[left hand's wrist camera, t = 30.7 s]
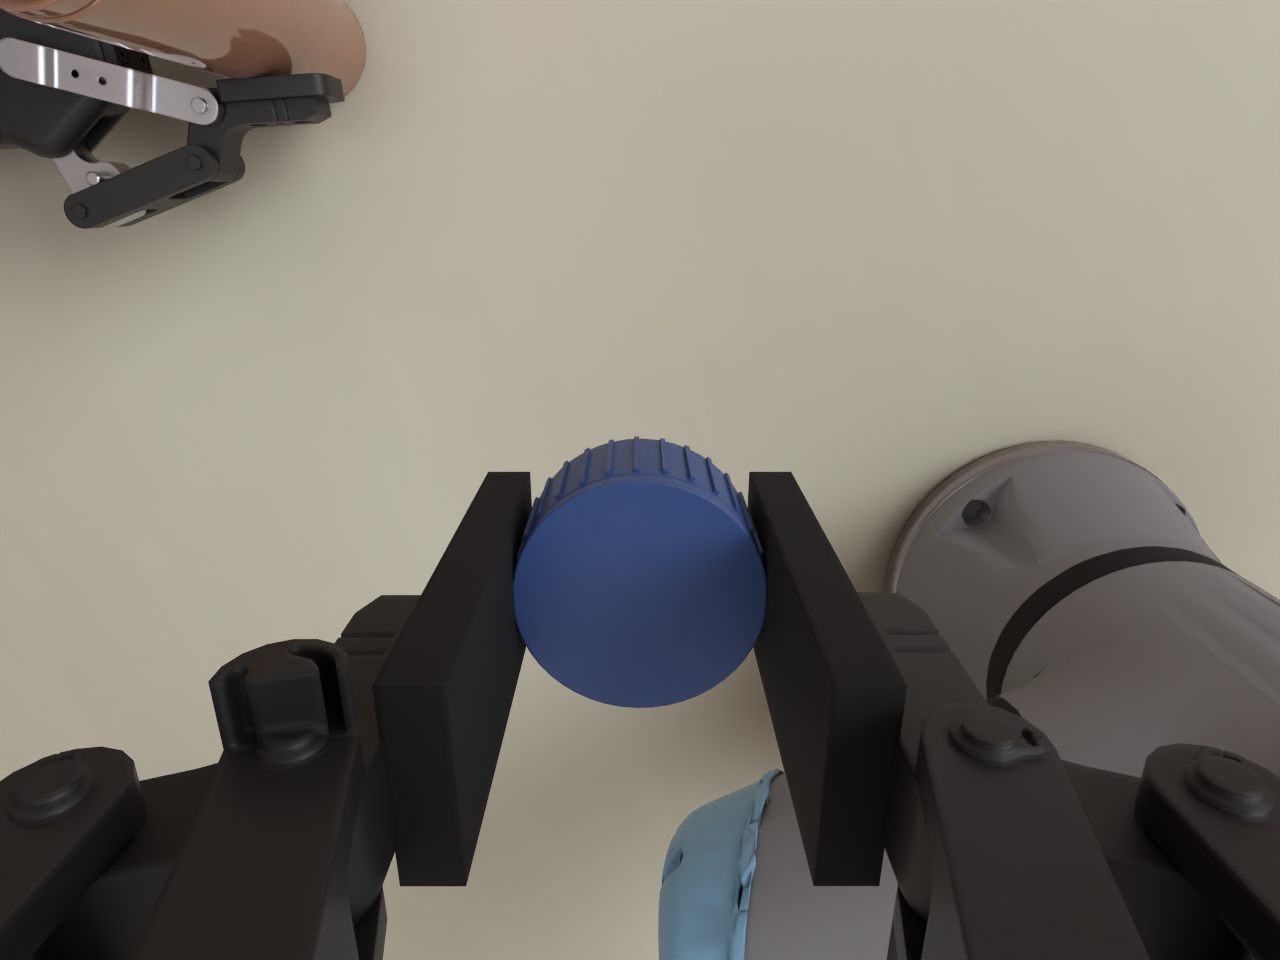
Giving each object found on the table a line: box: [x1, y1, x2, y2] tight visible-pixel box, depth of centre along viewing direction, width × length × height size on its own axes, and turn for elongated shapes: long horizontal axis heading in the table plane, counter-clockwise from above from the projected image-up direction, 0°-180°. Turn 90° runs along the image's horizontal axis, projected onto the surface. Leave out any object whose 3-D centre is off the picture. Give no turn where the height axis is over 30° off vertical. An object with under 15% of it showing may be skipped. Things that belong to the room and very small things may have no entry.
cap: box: [513, 437, 767, 708], centre depth 13 cm, size 4×4×2 cm
